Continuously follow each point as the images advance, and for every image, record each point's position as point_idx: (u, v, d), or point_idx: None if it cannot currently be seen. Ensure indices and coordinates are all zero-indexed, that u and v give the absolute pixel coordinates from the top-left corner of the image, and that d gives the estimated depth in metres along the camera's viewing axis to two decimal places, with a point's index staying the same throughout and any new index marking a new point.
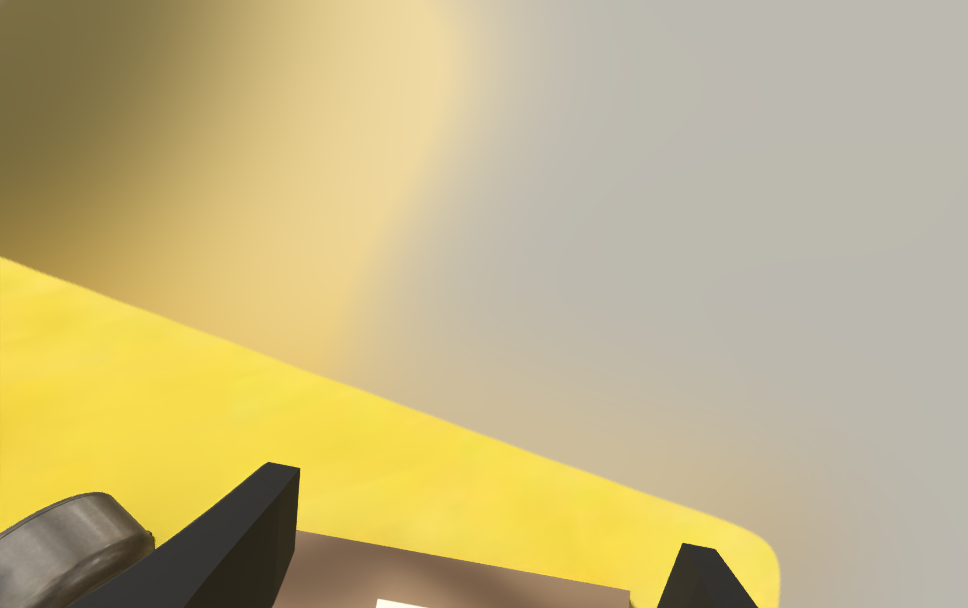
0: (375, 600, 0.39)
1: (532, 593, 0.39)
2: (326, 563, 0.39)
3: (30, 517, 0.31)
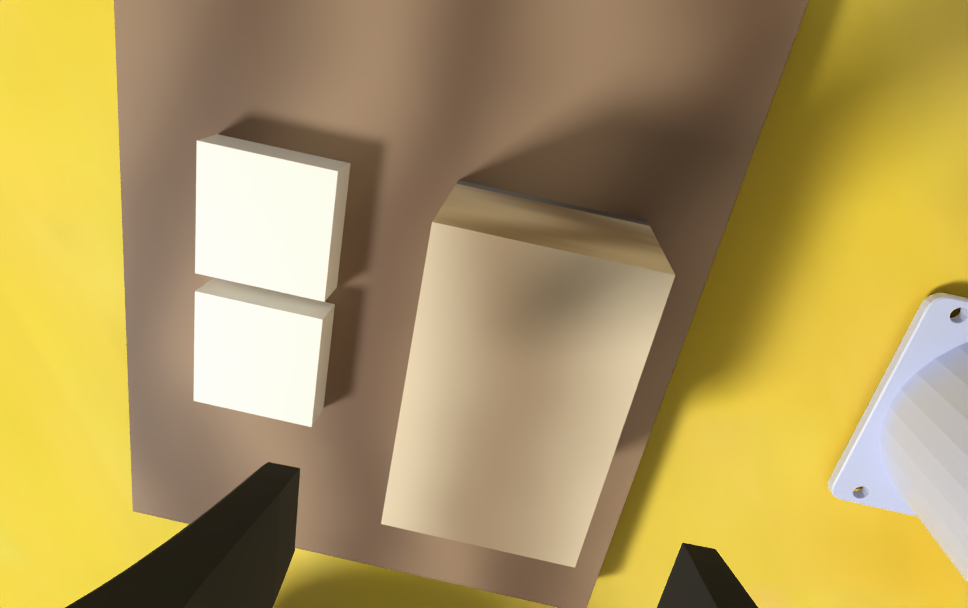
0: None
1: (156, 98, 0.18)
2: (172, 458, 0.24)
3: None
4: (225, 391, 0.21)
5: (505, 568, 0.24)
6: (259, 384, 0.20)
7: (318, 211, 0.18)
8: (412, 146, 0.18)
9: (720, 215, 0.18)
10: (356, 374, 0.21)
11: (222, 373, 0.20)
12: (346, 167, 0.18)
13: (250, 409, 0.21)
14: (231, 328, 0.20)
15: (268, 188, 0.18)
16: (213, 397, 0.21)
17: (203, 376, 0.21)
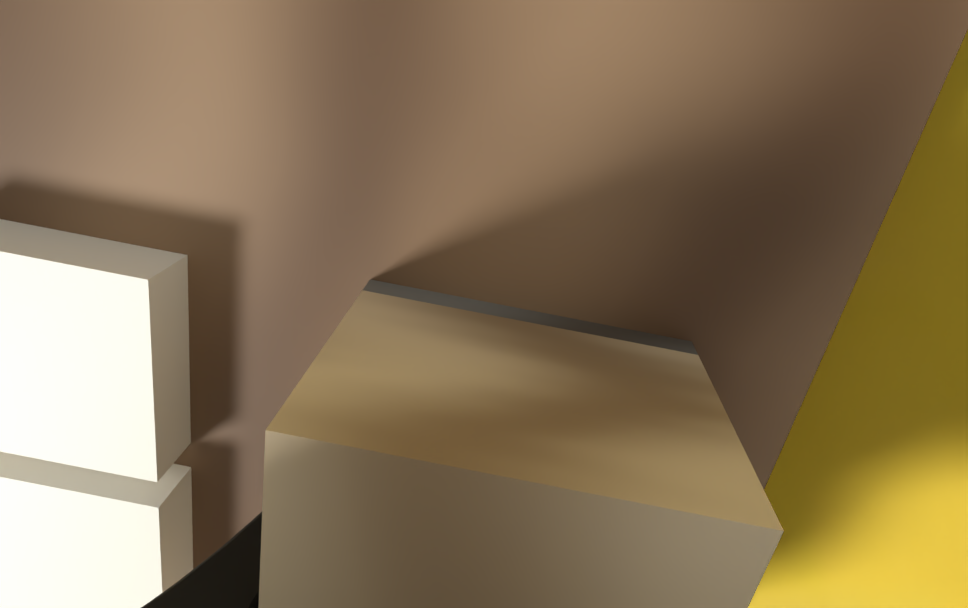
0: None
1: None
2: None
3: None
4: (25, 606, 0.13)
5: None
6: (75, 597, 0.13)
7: (124, 344, 0.10)
8: (287, 226, 0.11)
9: (817, 331, 0.11)
10: None
11: (14, 581, 0.13)
12: (174, 265, 0.11)
13: None
14: (16, 519, 0.12)
15: (34, 308, 0.10)
16: None
17: None
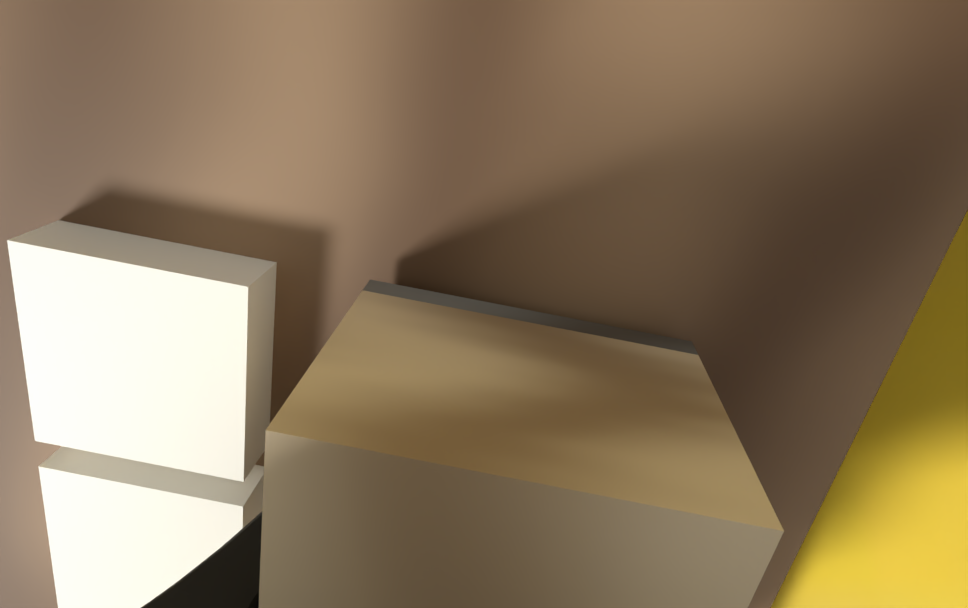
0: None
1: None
2: None
3: None
4: (104, 602, 0.13)
5: None
6: (155, 593, 0.13)
7: (221, 349, 0.11)
8: (376, 234, 0.11)
9: (888, 336, 0.11)
10: None
11: (96, 577, 0.13)
12: (267, 272, 0.11)
13: None
14: (102, 518, 0.13)
15: (135, 314, 0.11)
16: None
17: (68, 582, 0.13)
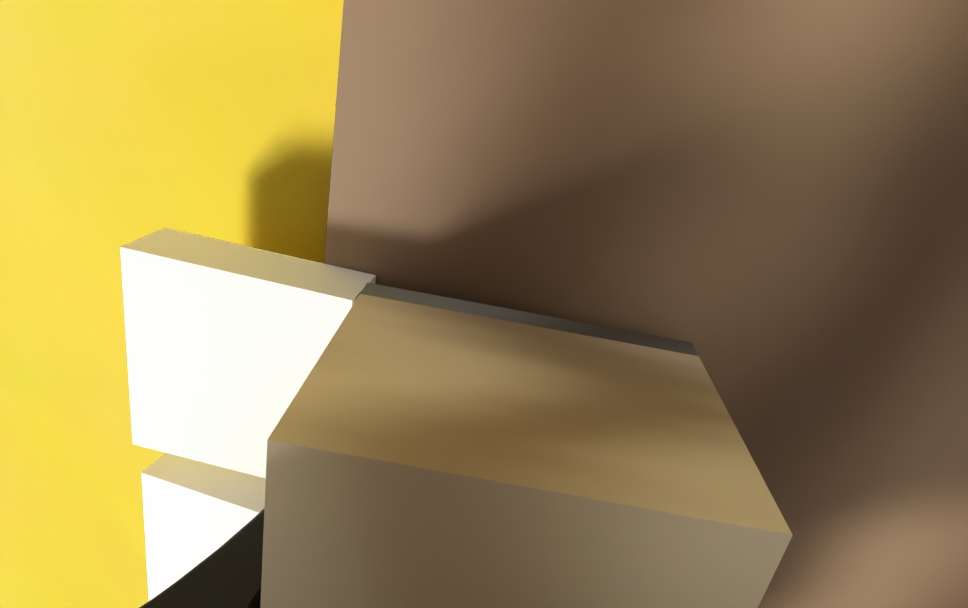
0: None
1: (391, 250, 0.11)
2: None
3: None
4: None
5: None
6: None
7: None
8: (823, 320, 0.11)
9: None
10: None
11: None
12: None
13: None
14: (194, 529, 0.13)
15: (238, 324, 0.11)
16: None
17: (160, 586, 0.14)
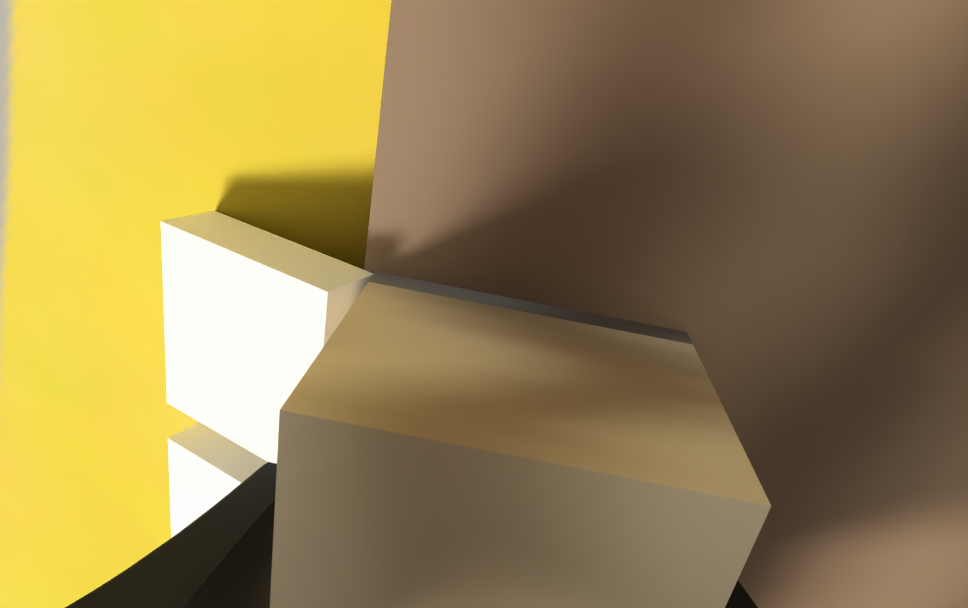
0: None
1: (431, 258, 0.11)
2: None
3: None
4: None
5: None
6: None
7: (302, 350, 0.11)
8: (865, 329, 0.11)
9: None
10: None
11: None
12: (358, 282, 0.11)
13: None
14: (206, 498, 0.14)
15: (241, 303, 0.11)
16: None
17: None
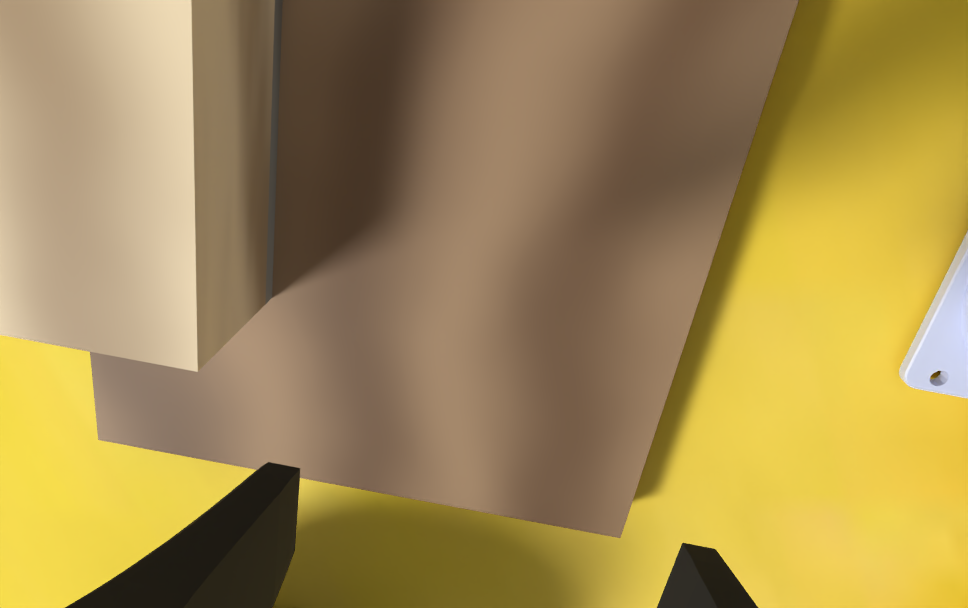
0: None
1: None
2: (139, 372, 0.20)
3: None
4: None
5: (528, 488, 0.21)
6: None
7: None
8: None
9: (780, 21, 0.15)
10: (348, 254, 0.18)
11: None
12: None
13: None
14: None
15: None
16: None
17: None
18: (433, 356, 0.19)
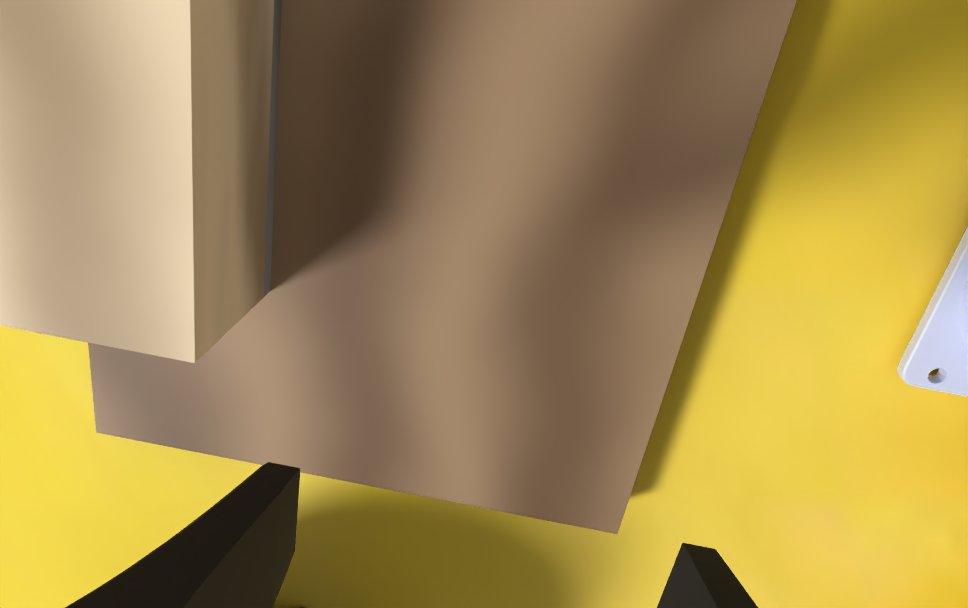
0: None
1: None
2: (137, 365, 0.20)
3: None
4: None
5: (525, 483, 0.21)
6: None
7: None
8: None
9: (780, 16, 0.15)
10: (347, 248, 0.18)
11: None
12: None
13: None
14: None
15: None
16: None
17: None
18: (431, 350, 0.19)
